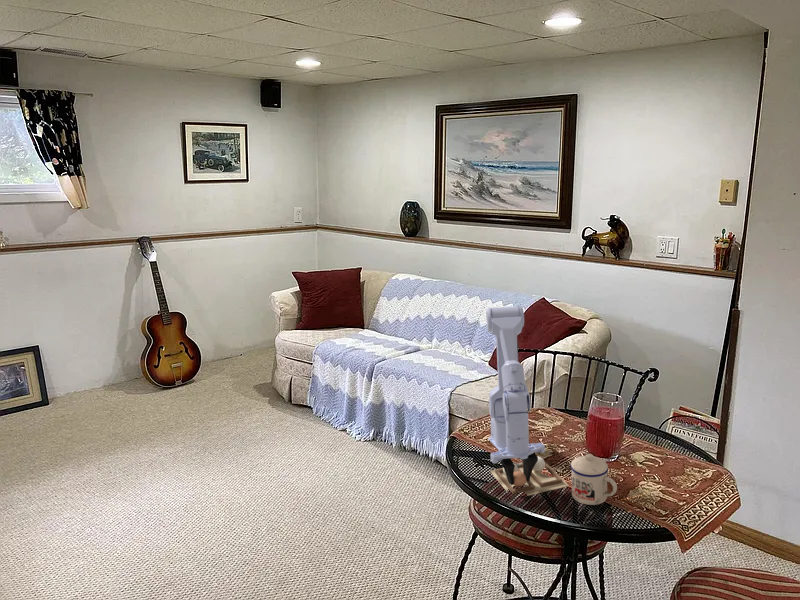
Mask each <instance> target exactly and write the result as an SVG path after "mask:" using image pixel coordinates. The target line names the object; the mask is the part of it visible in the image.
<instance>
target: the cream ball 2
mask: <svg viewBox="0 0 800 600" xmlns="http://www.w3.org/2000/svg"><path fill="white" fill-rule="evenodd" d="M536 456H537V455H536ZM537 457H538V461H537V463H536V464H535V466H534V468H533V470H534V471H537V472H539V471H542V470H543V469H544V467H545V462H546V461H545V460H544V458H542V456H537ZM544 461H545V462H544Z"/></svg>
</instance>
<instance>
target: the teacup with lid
mask: <svg viewBox="0 0 800 600" xmlns="http://www.w3.org/2000/svg"><path fill="white" fill-rule="evenodd" d="M570 468H571V496H572V498H573V499H574V500H575V501H576V502H578V503H580V504H584V505H589V506H595V505H600V504H602V503H604V502H605V501H606V500H607V499H608V497H612V496H614V495H615V494H616V493H617V490H618V486H617V485H618V484H617V482H616V481H615V480H614V479H613V478H612V477H609V476H608V471H609V465H608V463H607V462H606V461H605V460H604V459H602V458H600V457H598V456H594V455H593V454H592V453H587V454H585V455H582V456H577V457H576V458H574V459H573V460H572V461H571V463H570ZM608 483H610V485H611V486H612V491H611V492H609V491H608Z"/></svg>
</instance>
